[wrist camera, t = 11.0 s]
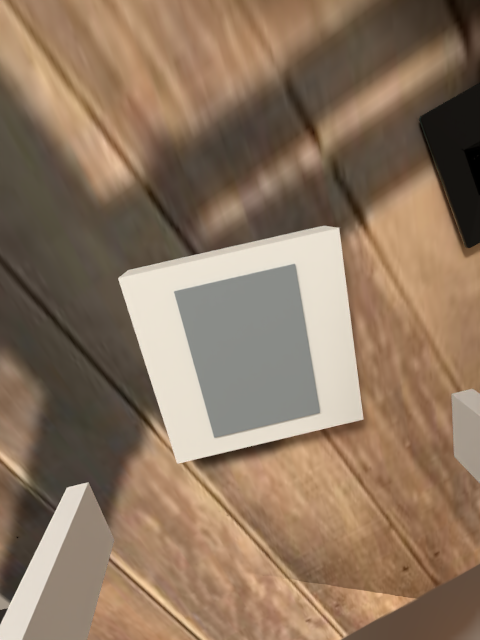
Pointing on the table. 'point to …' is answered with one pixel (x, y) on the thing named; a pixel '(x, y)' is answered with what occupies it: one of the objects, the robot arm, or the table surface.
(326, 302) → the plinth
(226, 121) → the table surface
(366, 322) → the table surface
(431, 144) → the black stand
